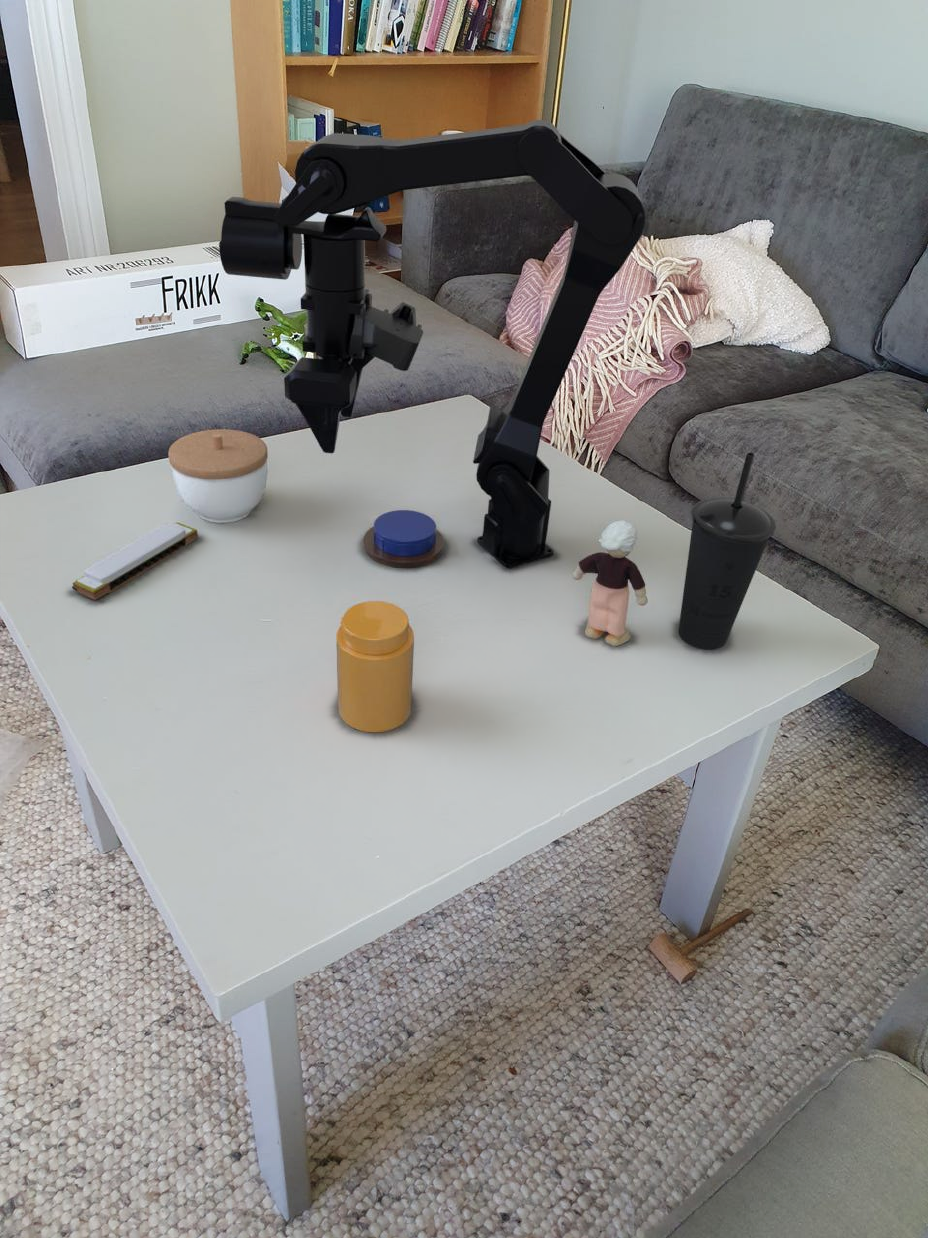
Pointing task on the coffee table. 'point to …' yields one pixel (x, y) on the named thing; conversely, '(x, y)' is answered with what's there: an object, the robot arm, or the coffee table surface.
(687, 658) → the coffee table surface
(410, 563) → the coaster
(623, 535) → the grandmother figurine
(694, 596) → the drinking cup
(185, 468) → the trinket box
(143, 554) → the harmonica
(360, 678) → the jar
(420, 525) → the lid
